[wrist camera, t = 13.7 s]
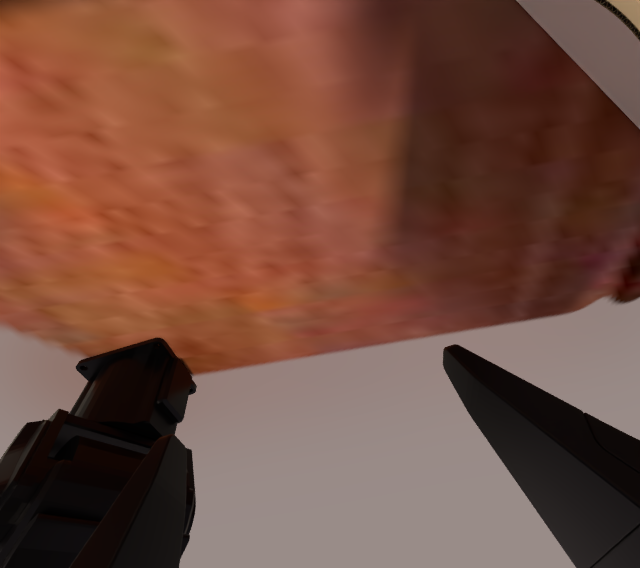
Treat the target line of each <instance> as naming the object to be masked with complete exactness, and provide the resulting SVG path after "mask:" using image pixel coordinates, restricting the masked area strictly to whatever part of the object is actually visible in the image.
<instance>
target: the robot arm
mask: <svg viewBox="0 0 640 568" xmlns="http://www.w3.org/2000/svg"><path fill="white" fill-rule="evenodd" d="M156 344H159V345H156ZM443 366H444V369H445V371H446V373H447V375H448V377H449V379H450V381H451V382H452V384H453V386H454V388H455V390H456V391H457V393H458V395H459V397H460V398H461V400H462V402H463V404H464V406H465V407H466V409H467V411H468V412H469V414H470V416H471V417H472V419H473V420H474V422H475V423H476V425H477V426H478V427H479V429H480V430H481V432H482V433H483V435H484V436H485V437H486V439H487V440H488V442H489V443H490V445H491V446H492V447H493V449H494V450H495V452H496V453H497V455H498V456H499V458H500V459H501V460H502V462H503V463H504V465H505V466H506V467H507V469H508V470H509V472H510V473H511V475H512V476H513V478H514V479H515V480H516V482H517V483H518V485H519V486H520V488H521V489H522V491H523V492H524V493H525V495H526V496H527V498H528V499H529V501H530V502H531V503H532V505H533V506H534V508H535V509H536V510H537V512H538V513H539V515H540V516H541V518H542V519H543V521H544V522H545V524H546V525H547V526H548V528H549V529H550V531H551V532H552V534H553V535H554V536H555V538H556V539H557V541H558V542H559V543H560V545H561V546H562V548H563V549H564V551H565V552H566V554H567V555H568V556H569V558H570V559H571V561H572V562H573V563H574V565H575V566H576V568H640V440H638V439H636V438H634V437H632V436H630V435H628V434H626V433H624V432H622V431H620V430H618V429H616V428H614V427H612V426H610V425H608V424H606V423H604V422H602V421H600V420H599V419H597V418H595V417H593V416H591V415H589V414H587V413H583V412H582V411H581V410H579V409H577V408H576V407H574V406H572V405H570V404H568V403H566V402H564V401H563V400H561V399H559V398H557V397H555V396H553V395H551V394H549V393H548V392H545V391H544V390H542V389H540V388H538V387H536V386H534V385H532V384H531V383H528V382H527V381H525V380H523V379H521V378H519V377H517V376H516V375H513V374H512V373H510V372H508V371H506V370H504V369H502V368H501V367H499V366H497V365H495V364H493V363H491V362H489V361H487V360H485V359H484V358H482V357H480V356H478V355H476V354H474V353H472V352H470V351H469V350H467V349H465V348H463V347H461V346H459V345H451V346H448V347H445V348H444V351H443ZM76 369H77V371H78V372H79V373H81V374H82V375H83V376H84V377H85V378H86V379H87V380H88V383H87V385H86V386H85V388H84V390H83V392H82V393H81V395H80V397H79V398H78V400H77V402H76V403H75V405H74V407H73V408H72V410H71V412H70V413H69V412H68V411H64V410H61V409H58V410H57V411H56V412H55V413H54V414H53V415H52V416H51V418H50V419H48V420H42V421H37V422H29V423H27V424H26V425H25V426H24V427H23V428H22V429H21V431H20V432H19V433H18V435H17V436H16V437H15V439H14V440H13V442H12V443H11V444H10V446H9V447H8V449H7V450H6V452H5V453H4V454H3V456H2V457H1V459H0V568H179V562H180V558H181V556H182V554H183V552H184V550H185V548H186V546H187V544H188V542H189V538H190V535H189V533H190V530H191V527H192V523H193V519H194V515H195V507H196V505H195V504H196V502H195V487H194V475H193V461H192V451H191V450H190V449H187V448H185V446H184V445H183V444H182V443H181V442H180V440H179V439H178V438H177V437H176V436H175V431H176V426H177V423H180V422H182V420H183V418H184V414H185V409H186V404H187V400H188V395H191V394H193V393H195V392H196V387H197V386H196V384H195V383H194V381H193V380H192V376H191V375H190V374H189V372H188V371H187V369H186V368H185V367H184V365H183V364H182V362H181V361H180V360H179V359H178V358H177V357H176V356H175V355H174V353H173V352H172V351H171V349H170V348H169V346H168V345H167V344H166V342H165V341H164V340H163V339H161V338H154V339H150V340H147V341H144V342H140V343H137V344H133V345H130V346H127V347H123V348H120V349H117V350H113V351H110V352H107V353H103V354H100V355H96V356H93V357H90V358H86V359H83V360H81V361H79V363H78V364H77V366H76ZM68 413H69V414H68Z"/></svg>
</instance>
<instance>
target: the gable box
mask: <svg viewBox="0 0 640 568" xmlns="http://www.w3.org/2000/svg"><path fill="white" fill-rule="evenodd" d="M516 1H517V2H518V3H519V4H520V5H521V6H522V7H523V8H524V9H525V10H526V11H527V12H528V13H529V15H530V16H531V17H532V18H533V19H534V20H535V21H536V22H537V23H538V24H539V25H540V26H541V27H542V28H543V29H544V30H545V31H546V32H547V33H548V34H549V35H550V36H551V37H552V38H553V40H554V41H555V42H556V43H557V44H558V45H559V46H560V47H561V48H562V49H563V50H564V51H565V52H566V53H567V54H568V55H569V56H570V57H571V58H572V59H573V60H574V61H575V62H576V63H577V65H578V66H579V67H580V68H581V69H582V70H583V71H584V72H585V73H586V74H587V75H588V76H589V77H590V78H591V79H592V80H593V81H594V82H595V83H596V84H597V85H598V86H599V87H600V88H601V90H602V91H603V92H604V93H605V94H606V95H607V96H608V97H609V98H610V99H611V100H612V101H613V102H614V103H615V104H616V105H617V106H618V107H619V108H620V109H621V110H622V111H623V112H624V113H625V115H626V116H627V117H628V118H629V119H630V120H631V121H632V122H633V123H634V124H635V125H636V126H637V127H638V128H639V129H640V0H516Z"/></svg>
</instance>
